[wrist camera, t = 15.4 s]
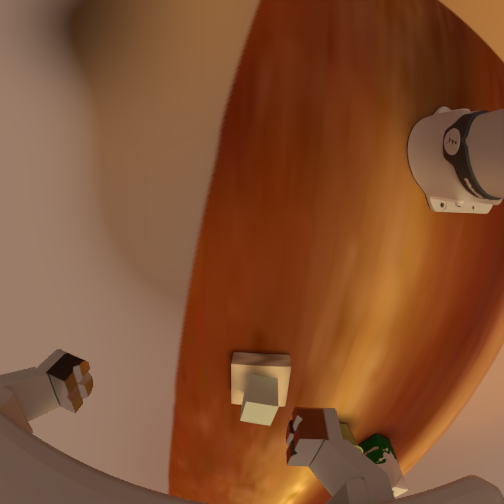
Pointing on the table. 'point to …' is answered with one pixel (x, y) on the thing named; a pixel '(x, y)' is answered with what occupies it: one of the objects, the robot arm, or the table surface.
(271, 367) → the birch block
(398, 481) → the milk carton
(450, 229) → the table surface
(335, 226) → the table surface
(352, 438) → the plant pot
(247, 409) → the sage block
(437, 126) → the robot arm
